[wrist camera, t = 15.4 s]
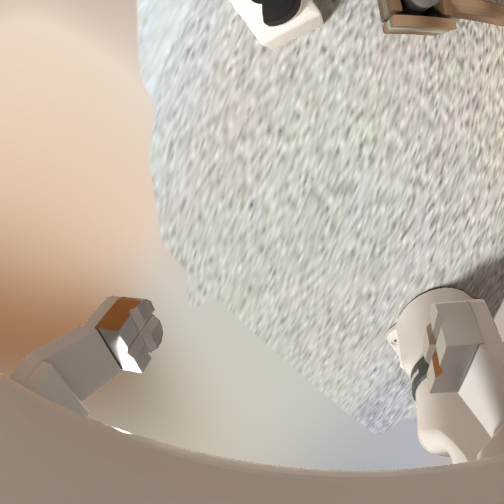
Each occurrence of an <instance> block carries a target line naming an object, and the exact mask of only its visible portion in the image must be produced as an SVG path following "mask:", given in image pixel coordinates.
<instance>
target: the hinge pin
mask: <svg viewBox="0 0 504 504" xmlns="http://www.w3.org/2000/svg"><path fill="white" fill-rule="evenodd" d="M400 1H401V6H402V11H401V12H400V13H399V14H398V15H415V16H418V15H419V14H421V13H422V12H424V11H425V10H427V9H428V8H430V7H432V6H433V5H435V4H436V3H438V2H439V1H441V0H400Z"/></svg>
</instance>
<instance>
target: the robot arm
mask: <svg viewBox="0 0 504 504" xmlns="http://www.w3.org/2000/svg"><path fill="white" fill-rule="evenodd" d="M153 313H154V307H153V305H152V303H151V301H149V300H147V299H139V298H129V297H117V296H111V297H108V298H107V299H106V300H105V301H104V302H103V303H102V304H101V305H100V307H99V308H98V309H97V310H96V311H95V313H94V314H93V315H92V316H91V317H90V318H89V319H88V321H87V322H86V323H85V324H84V325H83V326H79V327H77V328H75V329H73V330H71V331H69V332H68V333H66V334H64V335H62V336H60V337H58V338H56V339H55V340H53V341H51V342H49V343H47V344H45V345H44V346H42V347H40V348H38V349H36V350H35V351H33V352H31V353H29V354H28V355H27V356H26V357H25V359H24V360H23V361H22V362H21V364H20V365H19V366H18V367H17V368H16V370H15V371H14V372H13V373H12V375H11V376H10V377H9V378H8V377H6V376H4V375H3V374H1V373H0V504H504V342H502V340H501V337H500V335H499V333H498V330H497V327H496V325H495V323H494V320H493V318H492V315H491V313H490V311H489V308H488V306H487V304H486V302H485V301H484V300H483V299H473V298H472V297H470V296H469V295H468V294H467V293H465V292H463V291H461V290H459V289H455V288H439V289H434V290H431V291H428V292H426V293H424V294H422V295H420V296H418V297H417V298H415V299H414V300H413V301H411V302H410V303H409V304H408V305H407V306H406V308H405V309H404V310H403V312H402V313H401V315H400V317H399V320H398V321H397V323H396V324H395V325H394V326H393V327H391V328H390V329H389V330H388V331H387V333H386V336H387V340H388V341H389V343H390V344H391V346H392V347H393V349H394V350H395V352H396V353H397V355H398V356H399V360H400V366H401V368H404V370H405V372H406V373H407V374H408V376H409V377H410V378H411V389H412V394H413V398H414V400H415V401H416V411H417V428H418V438H419V441H420V443H421V444H422V446H423V447H424V448H425V449H426V450H427V451H429V452H430V453H433V454H435V455H440V456H447V457H448V456H449V457H451V460H452V464H450V465H443V466H435V467H426V468H415V469H402V470H380V471H340V470H318V469H304V468H292V467H284V466H275V465H267V464H260V463H253V462H247V461H241V460H235V459H229V458H225V457H220V456H215V455H210V454H205V453H200V452H197V451H192V450H188V449H184V448H180V447H176V446H173V445H169V444H166V443H162V442H159V441H155V440H152V439H149V438H145V437H142V436H139V435H136V434H133V433H130V432H127V431H124V430H121V429H118V428H116V427H113V426H110V425H108V424H105V423H102V422H100V421H97V420H95V419H92V418H90V417H87V415H88V414H89V412H88V409H87V408H86V407H85V405H84V404H83V403H82V401H83V400H85V399H86V398H87V397H88V396H90V395H91V394H92V393H94V392H95V391H96V390H98V389H99V388H100V387H101V386H103V385H104V384H105V383H107V382H108V381H109V380H110V379H112V378H113V377H114V376H116V375H117V374H118V373H120V372H121V371H122V369H123V370H128V371H133V372H138V373H143V371H144V370H145V368H146V366H147V365H148V363H149V361H150V360H151V352H152V351H154V350H155V349H157V348H158V347H159V345H160V343H161V341H162V336H163V330H162V325H161V323H160V320H159V319H158V318H157V317H155V316H154V315H153Z"/></svg>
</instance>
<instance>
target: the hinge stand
mask: <svg viewBox="0 0 504 504" xmlns="http://www.w3.org/2000/svg"><path fill="white" fill-rule="evenodd" d="M377 1H378V5H379V10H380V15H381V20H382V22H386V23H385V24H384V25H383V31H384V33H390V34H418V35H433V36H435V35H438V34H441V33H444V32H447V31H450V30H453V29H457V27H456V21H455V19H448V17H453V18H460V19H467V20H473V21H479V22H484V23H490V24H494V25H499V26H504V5H500V4H496V3H491V2H487V1H482V0H441V1H439V2H438V3H436V4H435V5H433V6H432V7H430V8H428V9H427V10H425V11H424V12H423V13H424V16H415V15H398V14H399V13H400V12H401V11H402V6H401V1H400V0H377Z"/></svg>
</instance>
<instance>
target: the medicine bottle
mask: <svg viewBox="0 0 504 504" xmlns="http://www.w3.org/2000/svg"><path fill="white" fill-rule="evenodd" d="M229 1H230V2H231V3H232V5H233V7H234V8H235V10H236V11H237V12H238V13H239V14H240V15H241V17H242V18H243V19H244V21H245V22H246V24H247V25H248V26H249V28H250V29H251V31H252V32H253V33H254V35H255V36H256V38H257V39H258V41H259V42H260V43H261V44H262V45H264V46H267V47H270V48H272V49H277V48H279V47H281V46H283V45H285V44H286V43H288V42H290V41H292V40H294V39H296V38H298V37H300V36H302V35H304V34H306V33H308V32H310V31H312V30H314V29H316V28H318V27H320V26H322V25H323V24H324V22H323V18H322V14H321V12H320V10H319V9H318V7H317V6H316V4H315V3H314V2H313V0H229Z"/></svg>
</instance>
